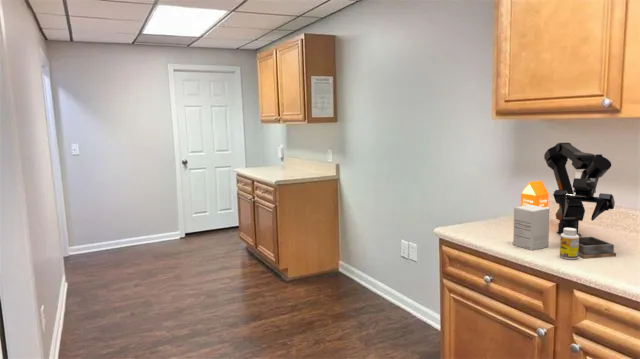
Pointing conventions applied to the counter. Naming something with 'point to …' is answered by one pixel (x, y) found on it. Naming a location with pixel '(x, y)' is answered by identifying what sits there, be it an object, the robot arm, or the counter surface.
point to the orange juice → (535, 195)
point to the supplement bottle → (569, 244)
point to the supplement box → (531, 227)
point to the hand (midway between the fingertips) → (577, 218)
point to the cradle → (594, 248)
